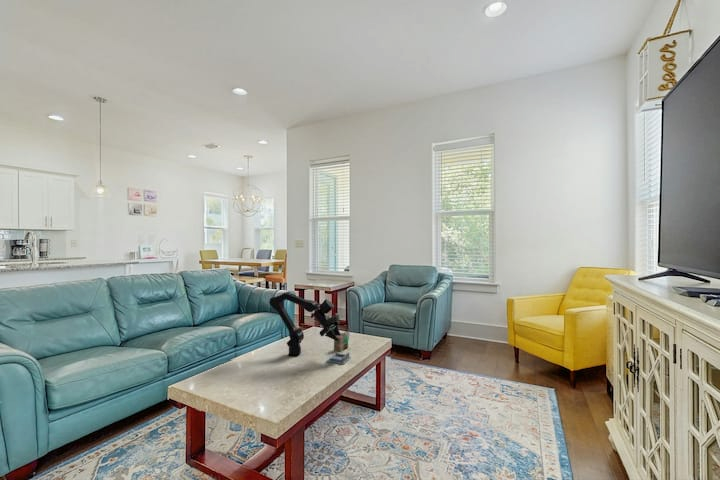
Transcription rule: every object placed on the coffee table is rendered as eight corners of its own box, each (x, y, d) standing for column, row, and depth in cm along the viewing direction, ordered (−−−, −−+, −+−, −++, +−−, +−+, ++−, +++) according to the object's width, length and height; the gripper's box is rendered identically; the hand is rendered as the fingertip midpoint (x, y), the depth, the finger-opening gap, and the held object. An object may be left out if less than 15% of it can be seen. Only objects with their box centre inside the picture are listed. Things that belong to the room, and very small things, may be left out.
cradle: (326, 362, 190) (326, 356, 190) (333, 355, 201) (333, 350, 201) (344, 364, 187) (344, 358, 187) (350, 357, 197) (350, 352, 197)
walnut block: (333, 351, 192) (334, 337, 192) (337, 348, 197) (337, 335, 197) (340, 351, 191) (340, 338, 191) (343, 349, 196) (343, 335, 196)
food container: (341, 351, 208) (341, 336, 208) (334, 349, 212) (334, 334, 212) (353, 346, 218) (353, 331, 218) (346, 345, 222) (346, 330, 222)
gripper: (324, 313, 187) (342, 334, 183) (337, 306, 204) (353, 326, 201) (312, 325, 189) (329, 347, 186) (325, 318, 207) (341, 337, 203)
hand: (339, 339), depth 194 cm, fingers closed on walnut block, 5 cm apart
